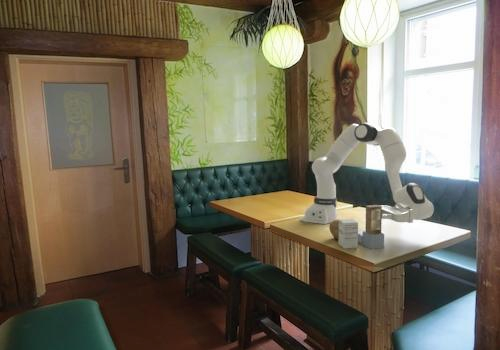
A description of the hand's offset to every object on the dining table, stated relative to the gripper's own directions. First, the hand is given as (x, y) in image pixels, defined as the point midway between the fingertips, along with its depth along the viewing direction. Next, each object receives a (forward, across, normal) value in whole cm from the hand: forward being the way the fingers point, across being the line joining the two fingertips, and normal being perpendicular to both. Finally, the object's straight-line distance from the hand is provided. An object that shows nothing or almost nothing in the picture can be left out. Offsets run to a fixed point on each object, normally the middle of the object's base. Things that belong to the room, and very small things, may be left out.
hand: (376, 214), depth 183 cm
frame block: (+1, 0, +9) cm, 9 cm away
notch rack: (+1, -4, +15) cm, 16 cm away
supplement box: (+13, -4, +16) cm, 20 cm away
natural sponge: (+12, -15, +16) cm, 25 cm away
